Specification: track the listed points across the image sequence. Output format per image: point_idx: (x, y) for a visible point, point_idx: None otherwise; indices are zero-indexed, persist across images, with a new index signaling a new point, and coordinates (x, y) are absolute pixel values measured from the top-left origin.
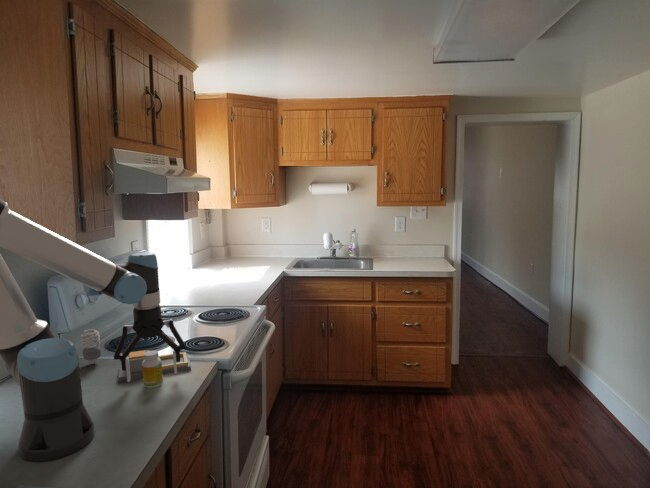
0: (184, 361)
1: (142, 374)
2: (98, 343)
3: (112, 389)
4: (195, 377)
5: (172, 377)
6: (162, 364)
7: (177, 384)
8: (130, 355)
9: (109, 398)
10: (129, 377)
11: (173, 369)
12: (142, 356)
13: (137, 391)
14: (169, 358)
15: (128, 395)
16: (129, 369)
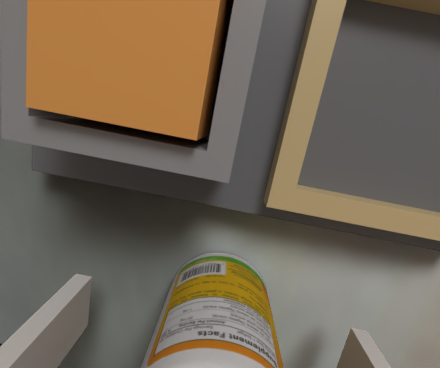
0: None
1: (176, 197)
2: None
3: (26, 236)
4: (423, 337)
5: (325, 272)
6: (330, 117)
7: (318, 358)
8: (41, 35)
9: (19, 319)
10: (69, 346)
11: (363, 234)
12: (170, 134)
13: (138, 323)
14: (420, 16)
15: (98, 338)
16: (43, 356)
